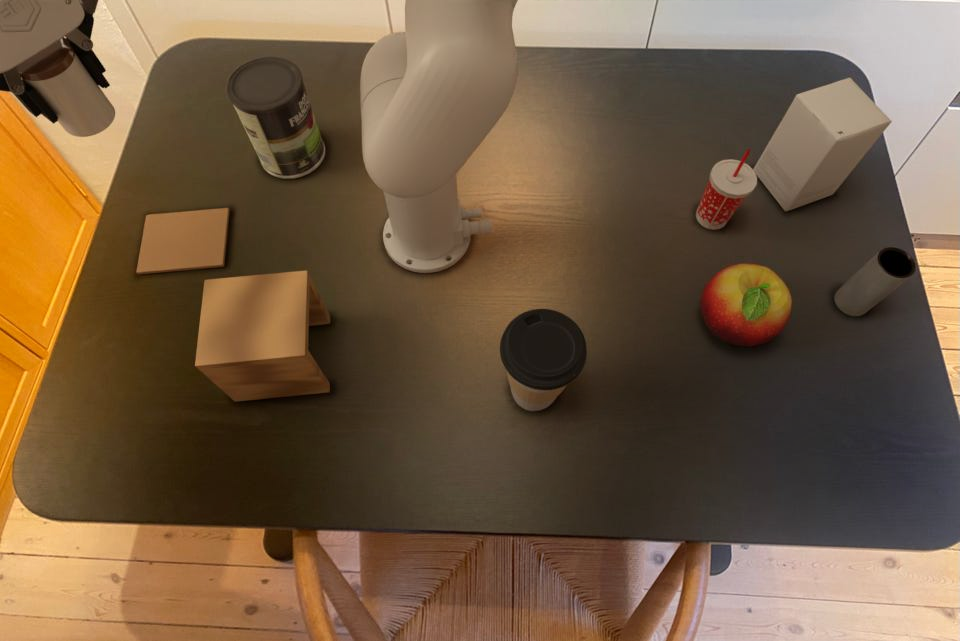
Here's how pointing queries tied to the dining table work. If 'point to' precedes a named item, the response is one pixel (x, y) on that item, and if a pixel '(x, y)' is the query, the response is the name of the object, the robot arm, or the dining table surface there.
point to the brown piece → (261, 335)
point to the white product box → (819, 143)
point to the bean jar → (68, 89)
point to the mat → (184, 241)
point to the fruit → (746, 304)
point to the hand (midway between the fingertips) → (73, 96)
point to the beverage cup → (725, 192)
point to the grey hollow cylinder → (875, 281)
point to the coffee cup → (541, 356)
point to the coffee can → (277, 116)
